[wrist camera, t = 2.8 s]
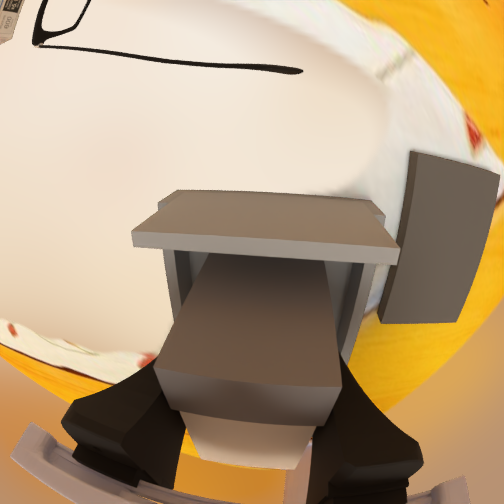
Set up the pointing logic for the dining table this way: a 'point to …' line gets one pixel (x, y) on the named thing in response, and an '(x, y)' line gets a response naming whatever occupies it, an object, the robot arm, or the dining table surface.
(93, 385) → the dining table surface
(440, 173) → the rubber mat
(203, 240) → the grey open tray
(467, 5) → the dining table surface
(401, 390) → the dining table surface
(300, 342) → the box
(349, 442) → the robot arm
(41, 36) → the eyeglasses
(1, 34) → the light bulb box
